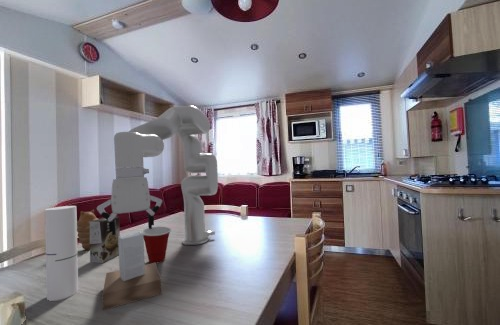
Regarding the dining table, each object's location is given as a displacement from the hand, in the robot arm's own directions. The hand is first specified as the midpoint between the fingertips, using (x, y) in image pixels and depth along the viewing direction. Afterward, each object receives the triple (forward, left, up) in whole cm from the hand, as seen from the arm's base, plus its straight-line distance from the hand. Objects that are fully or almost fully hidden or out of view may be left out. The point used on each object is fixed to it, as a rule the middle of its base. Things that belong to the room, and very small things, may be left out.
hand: (132, 230), depth 69 cm
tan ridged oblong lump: (+17, -53, -17) cm, 58 cm away
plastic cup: (-9, -20, -17) cm, 27 cm away
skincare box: (0, 0, -13) cm, 13 cm away
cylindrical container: (+18, -9, -17) cm, 27 cm away
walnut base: (0, 0, -17) cm, 17 cm away
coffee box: (+9, -35, -17) cm, 40 cm away
